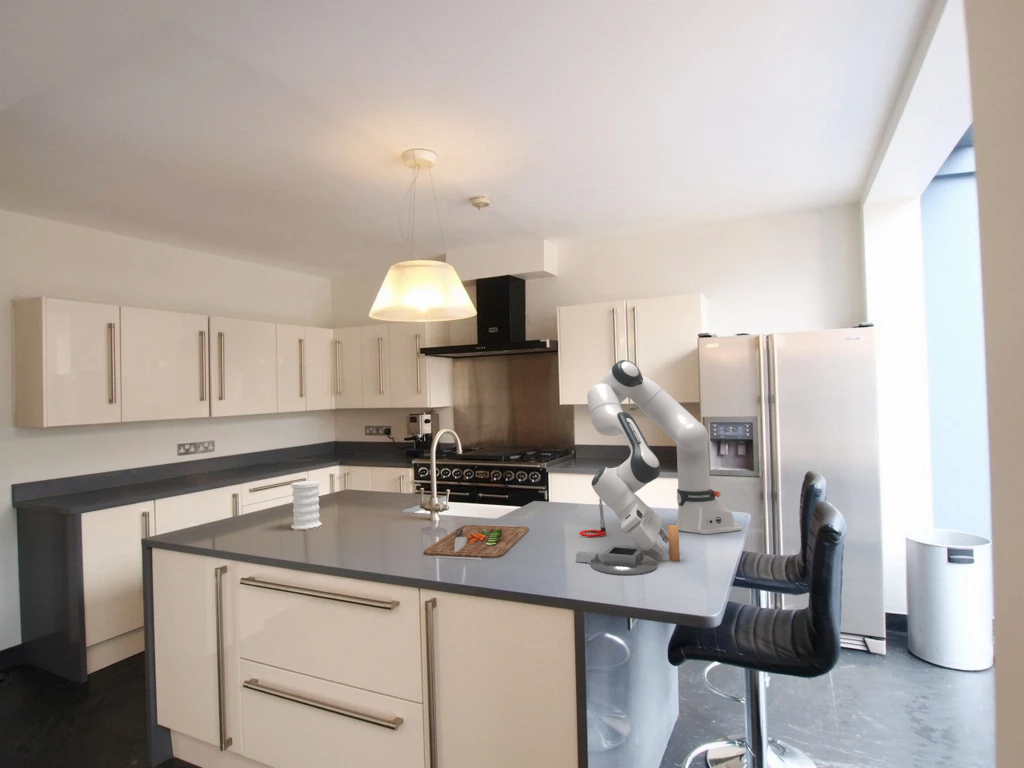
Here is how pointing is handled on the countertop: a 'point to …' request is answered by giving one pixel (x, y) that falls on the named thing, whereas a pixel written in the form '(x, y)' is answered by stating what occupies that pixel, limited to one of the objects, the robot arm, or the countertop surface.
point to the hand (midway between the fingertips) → (666, 547)
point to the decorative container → (306, 504)
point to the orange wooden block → (673, 542)
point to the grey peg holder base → (619, 561)
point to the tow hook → (602, 523)
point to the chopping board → (477, 542)
